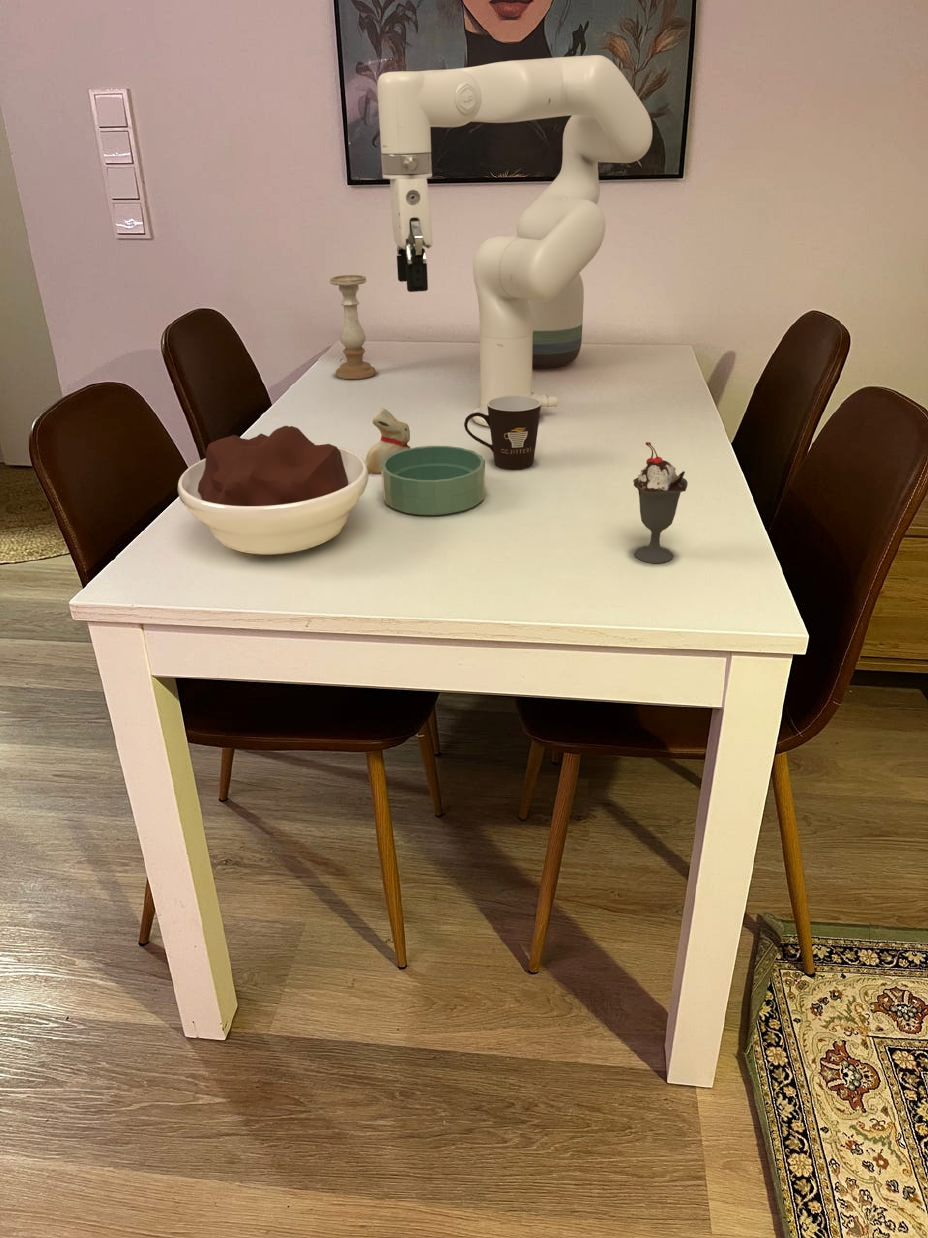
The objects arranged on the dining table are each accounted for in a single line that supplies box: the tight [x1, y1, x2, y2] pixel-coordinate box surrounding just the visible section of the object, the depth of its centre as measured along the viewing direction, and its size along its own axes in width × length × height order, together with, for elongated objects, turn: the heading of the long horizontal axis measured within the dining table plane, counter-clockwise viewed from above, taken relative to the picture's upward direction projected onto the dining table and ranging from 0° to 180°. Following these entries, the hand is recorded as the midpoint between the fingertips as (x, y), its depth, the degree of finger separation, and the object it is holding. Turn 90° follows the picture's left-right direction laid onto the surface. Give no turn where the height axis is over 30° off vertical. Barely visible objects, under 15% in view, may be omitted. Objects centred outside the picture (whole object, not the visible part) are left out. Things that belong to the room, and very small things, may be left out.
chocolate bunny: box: [364, 407, 411, 474], centre depth 146 cm, size 6×8×10 cm
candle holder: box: [329, 274, 377, 380], centre depth 195 cm, size 9×9×20 cm
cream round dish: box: [176, 425, 369, 556], centre depth 121 cm, size 25×25×15 cm
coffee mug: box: [463, 395, 542, 471], centre depth 147 cm, size 12×9×10 cm
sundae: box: [632, 441, 689, 564], centre depth 114 cm, size 7×7×15 cm
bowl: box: [381, 445, 486, 516], centre depth 135 cm, size 15×15×6 cm
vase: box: [528, 273, 585, 369], centre depth 198 cm, size 17×17×24 cm
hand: (412, 285), depth 145 cm, fingers open, 9 cm apart
